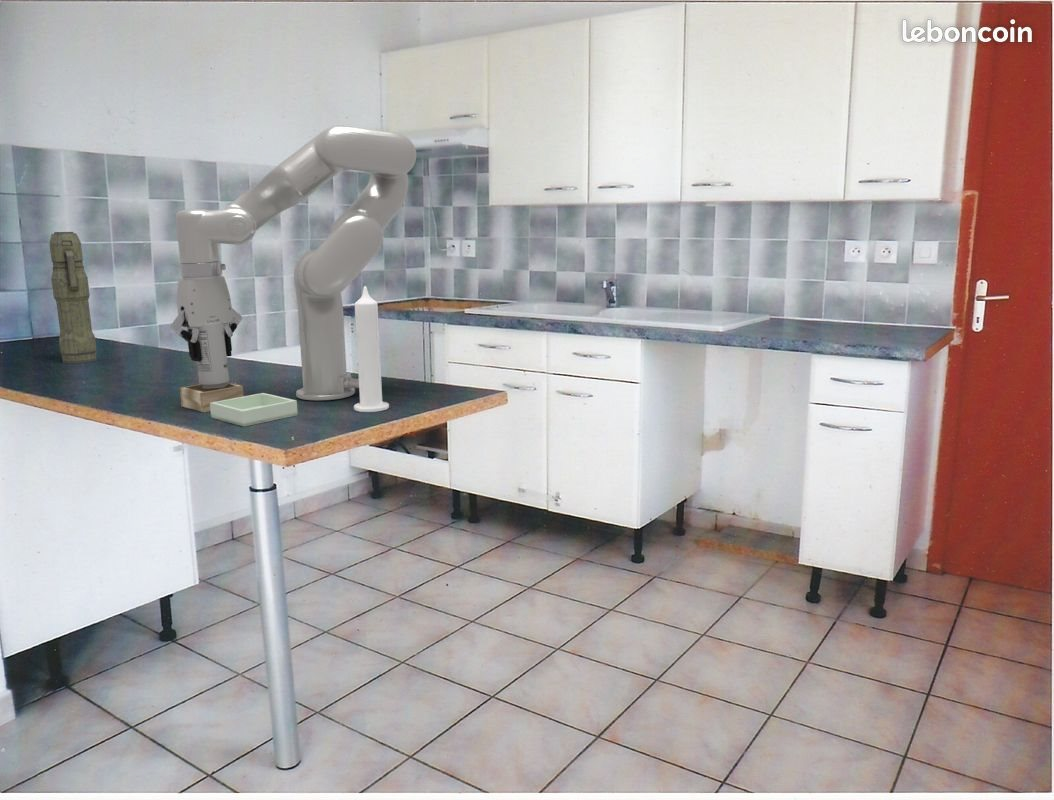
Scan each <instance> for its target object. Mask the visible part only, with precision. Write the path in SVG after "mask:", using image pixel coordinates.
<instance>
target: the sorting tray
mask: <svg viewBox="0 0 1054 800" xmlns="http://www.w3.org/2000/svg"><path fill="white" fill-rule="evenodd" d="M209 412H210V418H212V419H214V420H215V419H216V420H218V421H222V422H226V423H229V424H233V425H235V426H236V425H237V426H240V427H243V428H244V427H249V426H254V425H258V424H263V423H268V422H272V421H273V422H274V421H278V420H282V419H287V418H291V417H296V416H298V415H299V413H298V401H297V400H296V399H291V398H288V397H285V396H284V397H283V396H278V395H275V394H271V393H270V394H269V393H266V392H261V393H254V394H250V395H244V397H238V398H233V399H227V400H222V401H217V402H211V403H210V411H209Z"/></svg>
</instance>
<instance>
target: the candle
mask: <svg viewBox="0 0 1054 800" xmlns="http://www.w3.org/2000/svg"><path fill="white" fill-rule="evenodd" d="M378 306H379V305H378V302H377V300H375V299H374V298H372V297H371V296H370V294H369V290H368V287H367V286H366V285H364V286H363V291H362V295H361V297H360V298H359V299H358V300H357V301H356V302H355V303H354V317H355V320H354V321H355V333H356V334H355V335H356V337H355V339H356V354H357V357H356V358H357V368H358V369H357V372H358V379H359V388H358V389H359V402H358V403H355V404H354V405H353V410H354V411H356V412H359V413H376V412H377V413H378V412H382V411H386V410H388V409H389V408H390V404H389V403H388V402H386V401H383V390H382V387H383V386H382V371H381V370H382V369H381V368H382V367H381V351H380V350H381V348H380V347H381V346H380V329H379V326H380V325H379V312H378V311H379V308H378Z"/></svg>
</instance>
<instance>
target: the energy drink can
mask: <svg viewBox="0 0 1054 800" xmlns="http://www.w3.org/2000/svg"><path fill="white" fill-rule="evenodd" d="M209 317H210V318H209V319H208V320H207V321H206V322H205V323H204V324H203V326H202V327H201V328H199V334H198V338H197V342H199V343H200V348H201V356H202V360H201V361H199V362H197V361H196V365H197V366H196V367H197V375H198V384H201V385H202V386H203V388H206V389H213V388H221V387H225V386H227V383H230V382H229V381H230V372H229V364H228V356H227V353H226V345H225V336H224V327H223V323H222V321H220V320H219V319H218V318H216V315H215V316H209Z"/></svg>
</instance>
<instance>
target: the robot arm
mask: <svg viewBox="0 0 1054 800" xmlns="http://www.w3.org/2000/svg"><path fill="white" fill-rule="evenodd" d="M416 160H417V149H416V147H415V145H414V143H413V141H411V139H410V138H408V137H407V136H406V135H403V134H402V133H397V132H394V131H393V132H392V131H384V130H377V129H375V130H374V129H370V128H369V129H368V128H361V127H355V126H350V125H349V126H348V125H333V126H331V127H329V128H326V129H324V130H323V131H320V133H318V134H317V135H316V136H314V137H313V138H312V139H310V140H309V141H308V142H307V143H305V144H304V145H303V146H301V147H300V148H299V149H298V150H297V149H296V151H295V152H294V153H292V154H291V155H290V156H288V157H287V158H285V159H284V160H283V161H282V162H280V163H279V164H278V165H276V166H275V167H274V168H272V169H271V170H270V171H269V172H268V173H266V175H265V176H264V177H263V178H262V179H261V180H260V181H258V182H257V183H256V184H255V185H253V186H252V187H251V188H249V189H248V190H247V191H245V192H244V193H243V194H241V195H240V196H239V197H237V198H236V199H235V200H234V201H232V202H231V203H230V204H228V205H227V206H225V207H224V208H221V209H213V210H209V209H205V208H203V209H202V208H201V209H198V208H197V209H182V210H179V211H178V212H176V214H175V216H174V217H175V227H176V237H177V242H178V243H177V244H178V251H179V261H180V266H181V267H180V268H181V275H182V276H181V277H182V279H178V283H177V293H176V294H177V296H176V300H177V316H176V317H175V319H174V320H173V321H172V323H171V324H170V329H171V330H173V331H174V332H175V333H177V334H178V336H180V337H181V338H182V339H183V340H184V341H185V342H187V346H188V355H189V357H190V359H191V361H193V362H196V363H197V362H199V361H201V360H202V356H201V348H200V343H199V342H197V338H198V334H199V328H201V327H202V326H203V324H204V323H205V322H206V321H207V320H208V319H209V318H210V317H209V316H215V315H216V318H218V319H219V320H220V321H222V323H223V327H224V336H225V345H226V353H227V357H232V351H233V347H232V337H233V335H234V332H235V330H237V328H238V325H239V324H240V323H241V321H242V320H243V316H242V315H241V314H240V313H238V312H237V311H236V310H235V309H234V308H233V306H232V301H231V296H230V292H229V287H228V284H227V281H226V279H225V276H222V274H223V272H222V271H226V269H227V266H226V264H225V263H221V260H220V251H219V244H223V245H224V244H225V245H233V246H234V245H238V246H240V245H244V244H247V243H248V242H250V241H251V240H252V239H253V238H254V236H255V235H256V231H257V230H259V229H260V228H261V227H263V226H264V225H265V224H267V223H269V221H271V220H272V219H274V218H275V217H276V216H278V215H280V214H281V213H283V212H284V211H286V210H288V209H290V208H293V207H295V206H297V205H298V204H300V203H301V202H303V201H305V200H306V199H307V198H309V197H310V196H311V195H312V194H314V193H315V192H316V191H317V190H319V189H320V188H321V187H323V186H324V185H326V183H328V182H329V181H330V180H331V179H333V178H334V177H336V176H337V175H338V174H339V173H341V172H342V171H344V170H345V169H347V170H351V171H357V172H364V173H369V175H370V176H369V180H368V184H367V185H366V186H365V188H364V189H363V191H362V192H361V193H360V194H359V196H358V197H357V198H356V199H355V200H354V201H353V202H352V203H351V204H350V205H349V206H348V208H347V209H345V211H344V212H343V213H342V214H341V215H340V216H338V217H337V219H336V220H334V222H333V223H332V225H331V228H330V231H329V235H328V237H326V238H325V240H324V241H323V242H322V243H321V244H320V246H318V247H317V248H316V249H311V250H308V251H306V252H304V253H302V254H301V255H300V256H299V257H298V259H297V261H296V263H295V264H294V269H293V280H294V281H293V282H294V288H295V290H294V291H295V295H296V305H297V313H298V315H297V316H298V330H299V331H298V333H299V345H300V359H301V362H300V363H301V373H302V387H301V388H300V389H297V390H296V397H297V398H298V399H301V400H303V401H304V400H306V401H331V400H340V399H346V398H349V397H351V396H354V395H355V393H356V389H359V378H353V377H352V374H351V372H348V371H347V359H346V356H347V353H346V341H345V339H346V337H345V325H344V324H345V321H344V318H345V317H344V307H343V297H342V292H343V291H344V290H345V289H346V288H347V287H348V286H350V284H351V283H352V281H354V280H355V279H356V278H357V276H359V274H360V273H362V271H363V270H364V268H365V267H366V266H367V265H368V264H369V263H370V262H371V261H372V260H373V258H374V257H375V256H376V255H377V253H378V251H379V250H380V248H381V246H382V243H383V231H384V230H385V229H386V228H387V226H388V225H389V224H390V223H391V221H392V220H393V219H394V218H395V217H396V215H397V214H398V213H399V212H400V210H402V208H403V205H404V203H405V201H406V199H407V194H408V186H409V179H408V178H409V177H408V173H409V172H410V171H411V170H412V169H413V168H414V166H415V164H416ZM184 328H186V330H185V329H184Z"/></svg>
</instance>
